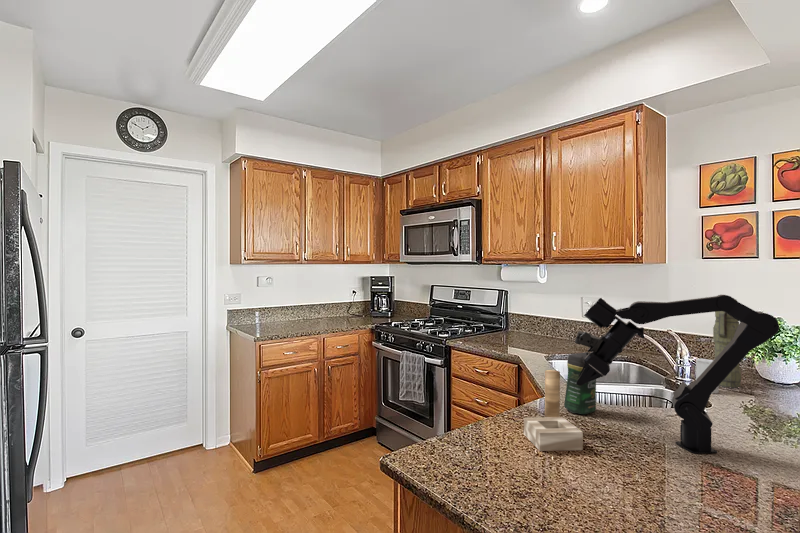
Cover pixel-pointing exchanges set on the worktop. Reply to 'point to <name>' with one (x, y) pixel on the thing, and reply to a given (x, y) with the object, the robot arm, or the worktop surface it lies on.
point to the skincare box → (703, 369)
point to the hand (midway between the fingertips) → (578, 380)
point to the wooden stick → (552, 393)
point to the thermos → (722, 338)
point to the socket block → (553, 434)
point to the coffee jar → (579, 387)
